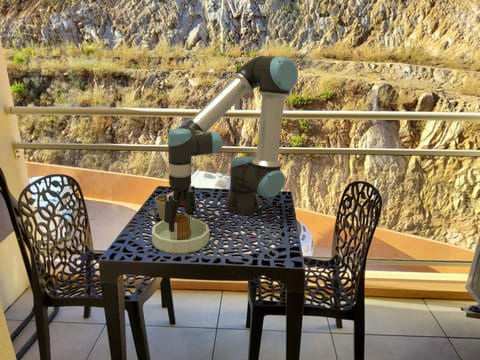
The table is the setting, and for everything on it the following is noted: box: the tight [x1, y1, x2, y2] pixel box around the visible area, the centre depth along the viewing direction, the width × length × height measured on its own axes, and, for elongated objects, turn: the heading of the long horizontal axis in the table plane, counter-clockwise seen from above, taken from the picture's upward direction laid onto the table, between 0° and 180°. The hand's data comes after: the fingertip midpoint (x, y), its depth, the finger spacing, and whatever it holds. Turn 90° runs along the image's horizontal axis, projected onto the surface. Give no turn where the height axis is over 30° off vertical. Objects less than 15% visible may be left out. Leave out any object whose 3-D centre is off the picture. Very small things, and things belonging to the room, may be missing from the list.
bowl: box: [151, 218, 210, 255], centre depth 139 cm, size 20×20×4 cm
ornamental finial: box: [175, 213, 191, 240], centre depth 138 cm, size 8×8×8 cm
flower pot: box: [154, 193, 176, 221], centre depth 157 cm, size 9×9×9 cm
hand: (180, 234), depth 139 cm, fingers closed on ornamental finial, 7 cm apart
